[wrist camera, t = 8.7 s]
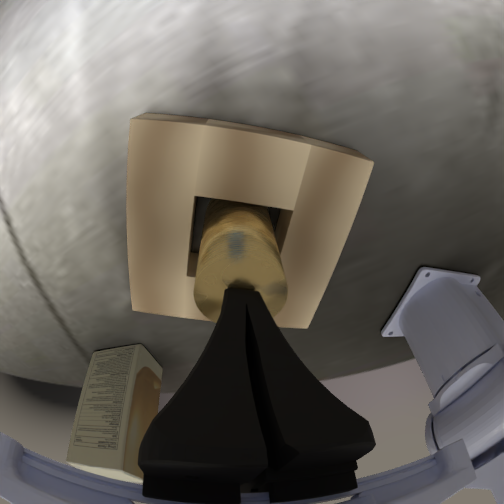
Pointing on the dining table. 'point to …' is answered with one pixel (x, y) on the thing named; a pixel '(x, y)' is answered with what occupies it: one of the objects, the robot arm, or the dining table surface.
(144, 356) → the skincare box
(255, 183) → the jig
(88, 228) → the dining table surface
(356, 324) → the dining table surface
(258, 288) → the amber rounded cylinder
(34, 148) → the dining table surface
